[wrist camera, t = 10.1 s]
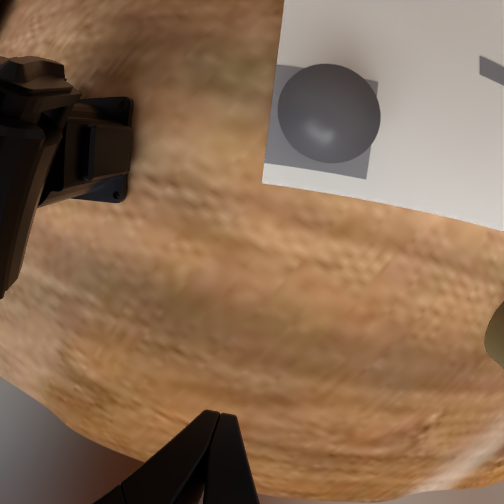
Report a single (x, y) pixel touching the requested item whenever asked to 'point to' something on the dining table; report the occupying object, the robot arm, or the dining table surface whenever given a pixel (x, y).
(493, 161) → the panel
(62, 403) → the dining table surface
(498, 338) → the olive pawn
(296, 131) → the button
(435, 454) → the dining table surface
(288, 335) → the dining table surface
